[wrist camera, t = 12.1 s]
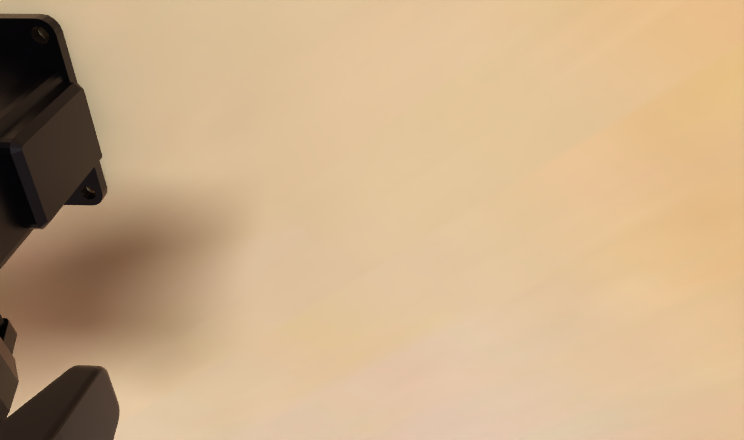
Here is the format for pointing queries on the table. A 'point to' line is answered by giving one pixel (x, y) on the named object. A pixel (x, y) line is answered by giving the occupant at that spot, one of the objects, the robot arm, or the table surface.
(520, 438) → the table surface
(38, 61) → the robot arm
